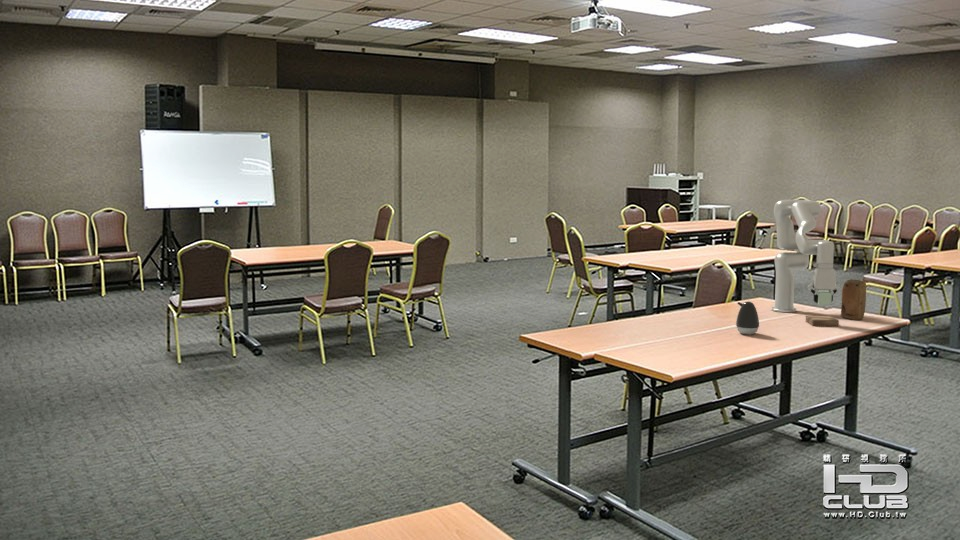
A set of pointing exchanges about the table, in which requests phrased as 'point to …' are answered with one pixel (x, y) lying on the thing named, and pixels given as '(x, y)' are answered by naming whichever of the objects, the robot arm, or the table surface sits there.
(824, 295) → the cube
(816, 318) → the base
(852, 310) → the block
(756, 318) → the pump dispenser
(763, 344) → the table surface
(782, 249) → the robot arm
